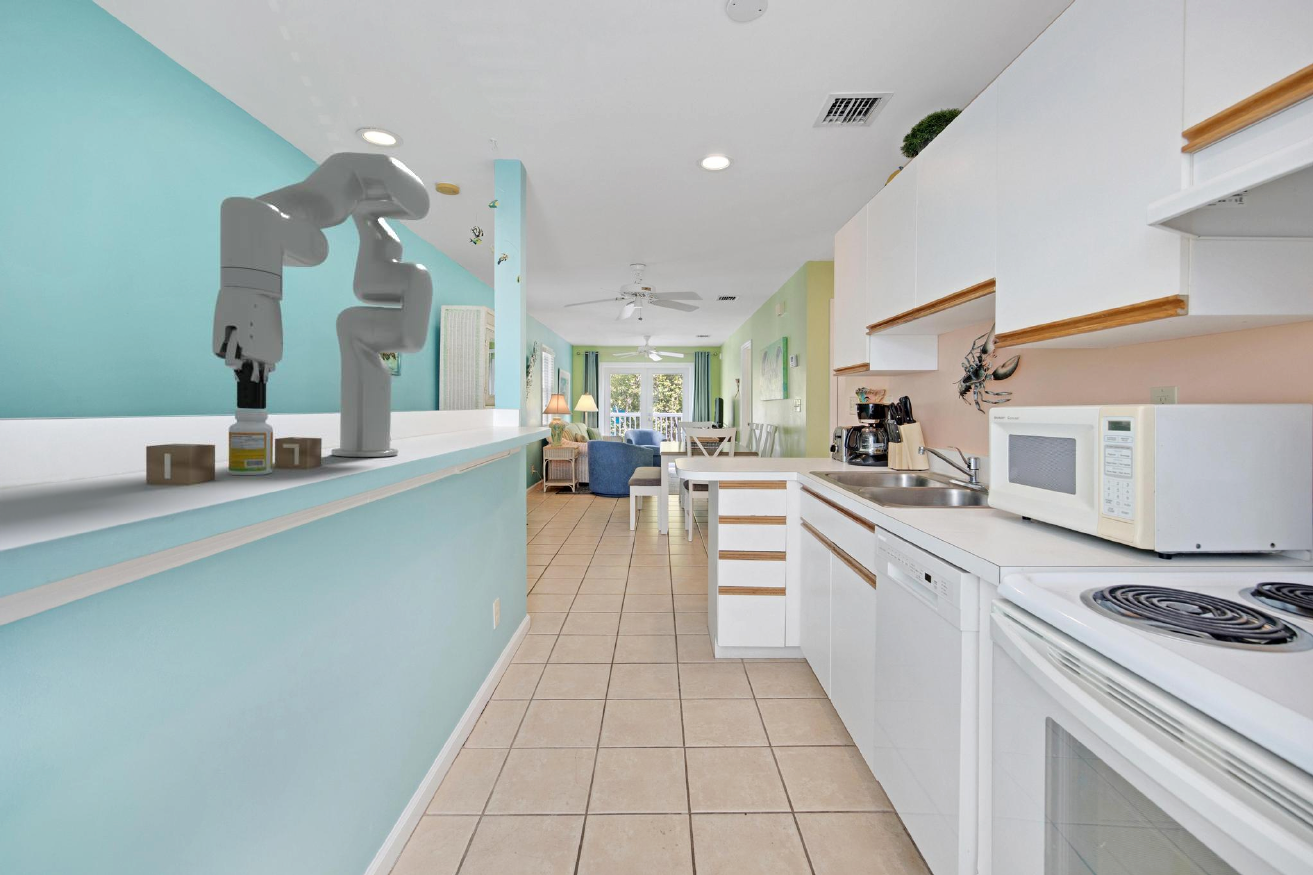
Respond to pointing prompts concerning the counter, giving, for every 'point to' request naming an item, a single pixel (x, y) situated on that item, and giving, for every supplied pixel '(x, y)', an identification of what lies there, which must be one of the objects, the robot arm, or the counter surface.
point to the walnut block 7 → (298, 453)
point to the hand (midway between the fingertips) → (251, 408)
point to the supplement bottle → (250, 444)
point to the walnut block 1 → (180, 464)
